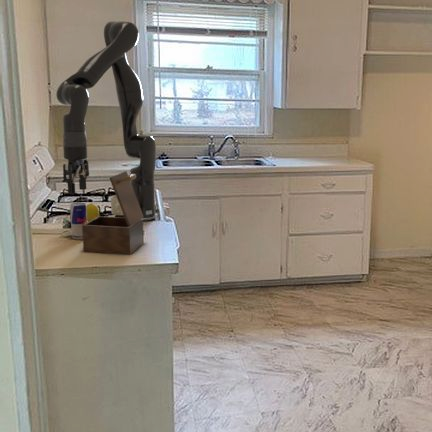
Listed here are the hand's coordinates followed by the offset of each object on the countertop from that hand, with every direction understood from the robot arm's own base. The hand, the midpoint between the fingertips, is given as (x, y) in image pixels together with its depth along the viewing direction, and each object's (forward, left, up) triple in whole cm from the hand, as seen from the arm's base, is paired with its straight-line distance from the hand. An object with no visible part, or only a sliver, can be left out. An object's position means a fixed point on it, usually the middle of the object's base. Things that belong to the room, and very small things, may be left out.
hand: (77, 191), depth 197 cm
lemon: (-19, -4, -17) cm, 26 cm away
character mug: (-11, +11, -17) cm, 23 cm away
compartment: (+9, +16, -16) cm, 25 cm away
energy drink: (0, 0, -17) cm, 17 cm away
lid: (+9, +21, 0) cm, 22 cm away
